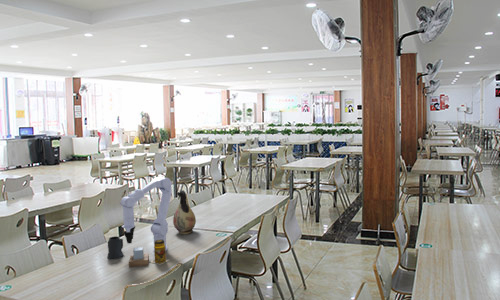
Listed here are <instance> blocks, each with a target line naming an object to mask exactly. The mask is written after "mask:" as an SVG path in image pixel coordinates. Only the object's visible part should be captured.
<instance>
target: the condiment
mask: <svg viewBox="0 0 500 300" xmlns="http://www.w3.org/2000/svg"><path fill="white" fill-rule="evenodd" d="M154 243H155V246H154V245H153V251H154V252H153V253H154V259H153V260H151V261H150V263H152V264H156V265H163V264H165V263H167V262H168V261H170V259H167V254H166V252H167V251H165V245H164V240H156V241H155V242H154V241H153V244H154Z"/></svg>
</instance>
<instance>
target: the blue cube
mask: <svg viewBox="0 0 500 300" xmlns="http://www.w3.org/2000/svg"><path fill="white" fill-rule="evenodd" d="M132 253H133V254H132V255H133V256H134V260H136V259H143V257H144V247H143V246H142V247H141V246H139V247H134V248H133V250H132Z"/></svg>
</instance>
